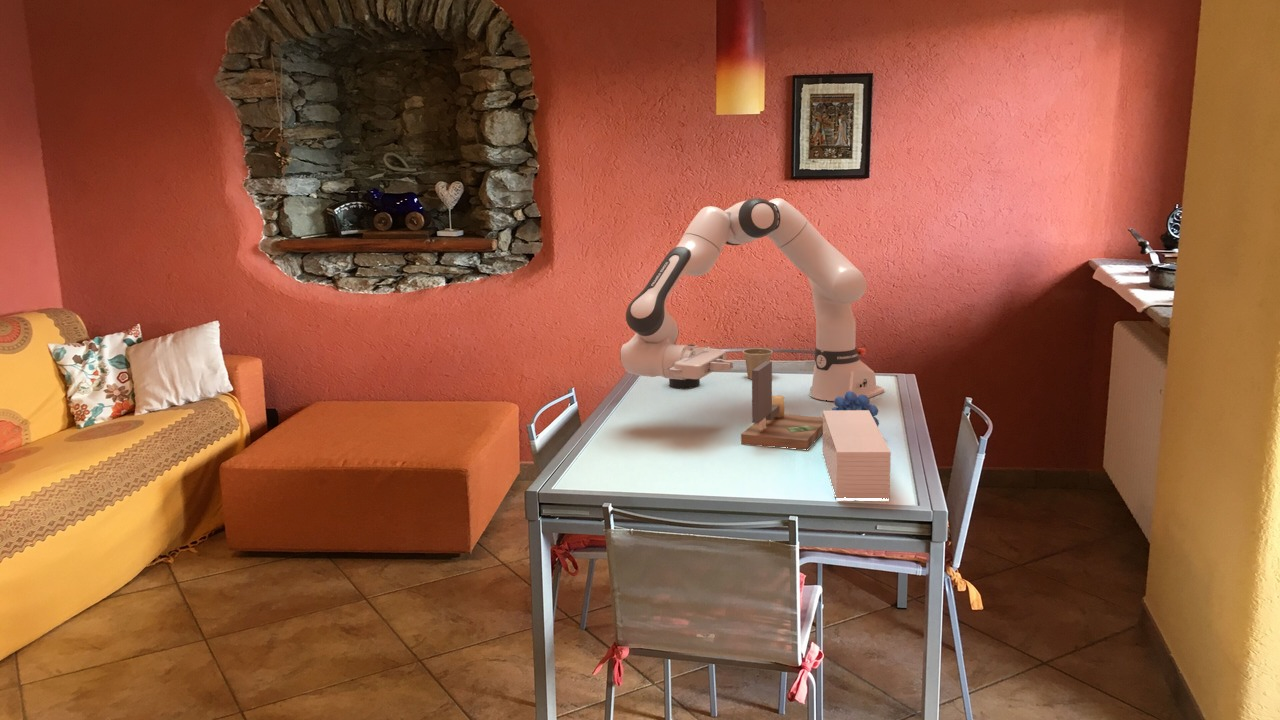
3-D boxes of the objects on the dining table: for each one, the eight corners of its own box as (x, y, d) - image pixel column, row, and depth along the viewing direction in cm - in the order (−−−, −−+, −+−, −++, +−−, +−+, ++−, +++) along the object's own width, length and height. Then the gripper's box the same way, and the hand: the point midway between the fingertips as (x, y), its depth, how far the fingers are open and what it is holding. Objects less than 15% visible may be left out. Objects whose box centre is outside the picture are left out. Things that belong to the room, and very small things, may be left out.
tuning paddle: (773, 413, 253) (773, 353, 249) (785, 414, 252) (785, 353, 248) (749, 435, 235) (748, 370, 231) (761, 436, 233) (761, 371, 230)
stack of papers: (889, 502, 196) (890, 452, 194) (836, 502, 197) (836, 452, 195) (868, 454, 227) (869, 410, 225) (822, 454, 228) (822, 410, 226)
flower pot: (778, 376, 305) (778, 350, 304) (761, 382, 299) (761, 355, 297) (754, 373, 312) (753, 347, 310) (736, 378, 305) (736, 352, 303)
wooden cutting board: (766, 421, 256) (766, 411, 255) (828, 427, 249) (828, 417, 248) (741, 443, 237) (741, 433, 236) (806, 450, 230) (807, 439, 230)
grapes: (832, 443, 236) (832, 395, 233) (830, 435, 242) (830, 388, 240) (880, 443, 234) (881, 395, 232) (877, 435, 241) (878, 388, 238)
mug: (668, 391, 292) (667, 362, 290) (669, 381, 303) (669, 353, 301) (699, 390, 291) (699, 361, 289) (699, 381, 303) (699, 353, 301)
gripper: (663, 357, 236) (716, 361, 230) (694, 343, 254) (744, 346, 249) (664, 382, 237) (716, 387, 232) (694, 366, 256) (744, 370, 250)
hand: (731, 366), depth 240 cm, fingers closed
